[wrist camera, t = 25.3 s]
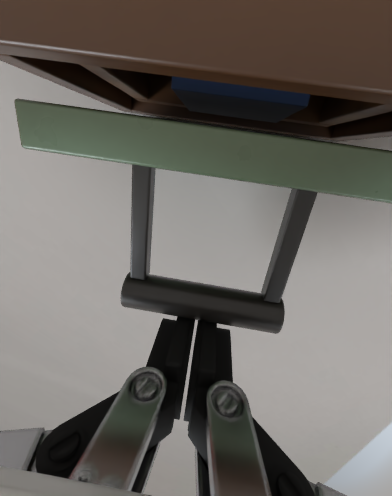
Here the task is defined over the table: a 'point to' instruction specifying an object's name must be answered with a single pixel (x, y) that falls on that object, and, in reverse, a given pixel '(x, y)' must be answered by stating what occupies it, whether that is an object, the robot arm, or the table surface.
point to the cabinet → (212, 51)
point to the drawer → (216, 165)
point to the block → (238, 100)
